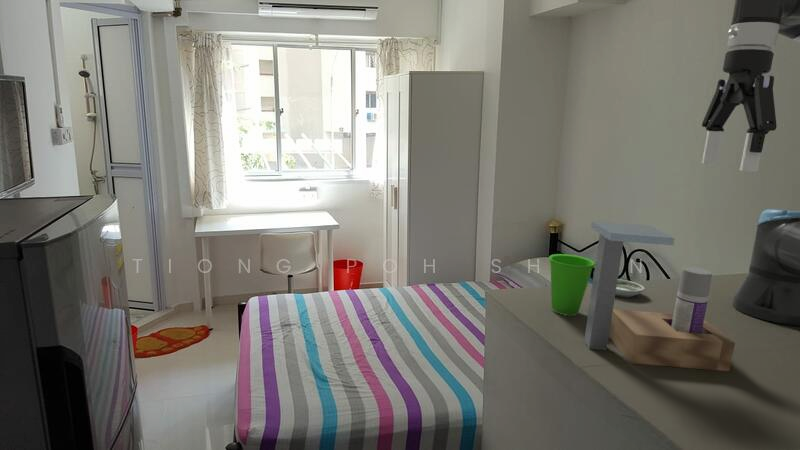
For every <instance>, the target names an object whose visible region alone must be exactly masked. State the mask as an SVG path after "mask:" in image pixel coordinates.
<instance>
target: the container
mask: <svg viewBox="0 0 800 450" xmlns="http://www.w3.org/2000/svg"><path fill="white" fill-rule="evenodd" d="M712 275H713V272H711V271H710V270H708V269H703V268H700V267H694V266H684V267H682V270H681V275H680V278H679V282H678V283H679V285H678V290H677V294H676V299H675V304H674V311H673V314H674V315H673V320H672V326H671V327H672V328H673V329H675V330H676V331H677V332H690V333H702V328H703V323H704V320H705V316H706V311H707V305H708V301H709V296H710V295H709V294H710V289H711V288H710V287H711V281H712Z"/></svg>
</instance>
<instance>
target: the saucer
mask: <svg viewBox="0 0 800 450" xmlns="http://www.w3.org/2000/svg"><path fill="white" fill-rule="evenodd" d="M643 292H645V287H644V286H643V284H642V285H641V284H640V283H638V282H634V281H630V280H626V279H620V278H618V280H617V286H616V293H615V297H616V296H617V297H622V298H631V297H634V296H637V295H640V294H641V293H643Z"/></svg>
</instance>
